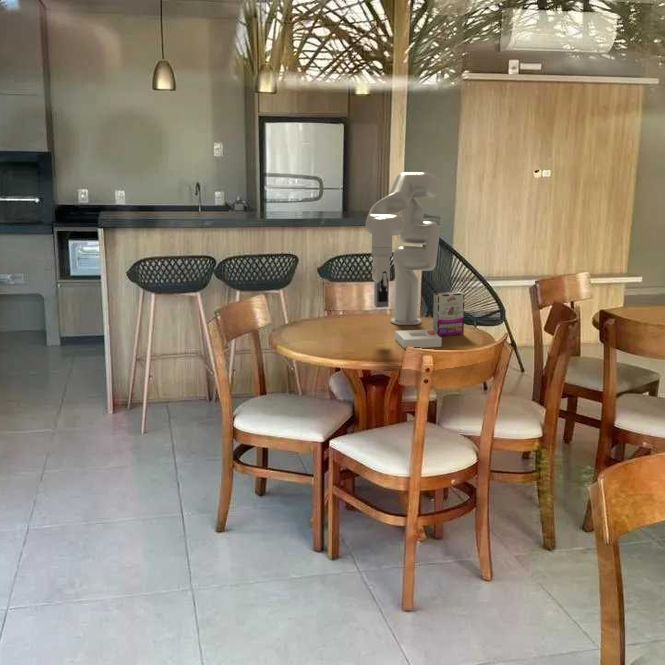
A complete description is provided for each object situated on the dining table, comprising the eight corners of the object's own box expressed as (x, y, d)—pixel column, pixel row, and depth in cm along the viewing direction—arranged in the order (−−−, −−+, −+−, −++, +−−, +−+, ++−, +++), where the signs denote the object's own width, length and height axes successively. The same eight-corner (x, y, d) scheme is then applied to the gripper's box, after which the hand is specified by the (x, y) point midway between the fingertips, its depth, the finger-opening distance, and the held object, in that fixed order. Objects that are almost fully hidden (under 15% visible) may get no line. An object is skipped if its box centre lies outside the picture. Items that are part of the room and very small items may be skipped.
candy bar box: (458, 332, 301) (459, 290, 297) (463, 334, 297) (465, 293, 293) (432, 333, 298) (433, 292, 294) (437, 336, 294) (438, 294, 290)
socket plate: (395, 339, 290) (395, 328, 289) (430, 337, 292) (431, 327, 291) (403, 348, 277) (404, 337, 276) (441, 346, 279) (441, 336, 278)
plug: (374, 305, 286) (374, 276, 284) (386, 304, 287) (386, 275, 284) (376, 307, 282) (376, 277, 280) (388, 306, 283) (388, 277, 280)
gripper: (367, 248, 287) (367, 296, 292) (376, 254, 271) (376, 305, 276) (386, 247, 288) (386, 295, 293) (397, 254, 272) (396, 304, 277)
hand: (381, 299), depth 284 cm, fingers closed on plug, 4 cm apart
